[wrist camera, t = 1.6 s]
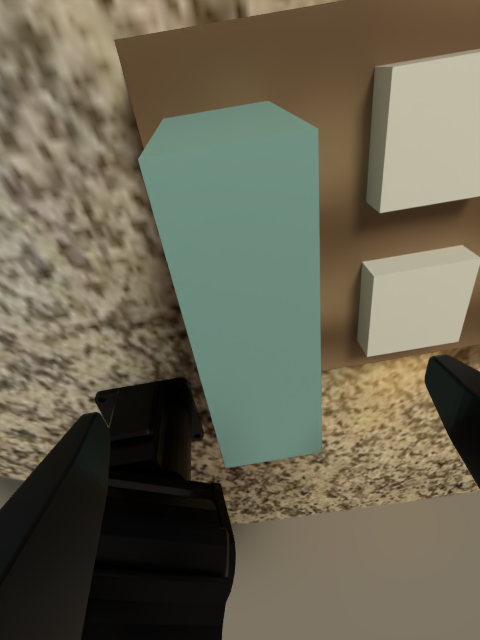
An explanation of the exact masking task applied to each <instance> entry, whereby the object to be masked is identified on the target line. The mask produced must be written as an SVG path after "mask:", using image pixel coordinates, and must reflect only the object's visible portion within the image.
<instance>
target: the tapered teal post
mask: <svg viewBox="0 0 480 640" xmlns="http://www.w3.org/2000/svg"><path fill="white" fill-rule="evenodd" d="M138 161H139V165H140V168H141V172H142V175H143V179H144V183H145V186H146V190H147V193H148V197H149V200H150V204H151V207H152V211H153V214H154V218H155V221H156V225H157V228H158V232H159V235H160V239H161V242H162V246H163V249H164V253H165V256H166V260H167V263H168V267H169V270H170V274H171V277H172V281H173V284H174V288H175V292H176V295H177V299H178V302H179V306H180V309H181V313H182V316H183V320H184V323H185V327H186V330H187V334H188V337H189V341H190V344H191V348H192V351H193V355H194V358H195V362H196V365H197V369H198V372H199V376H200V379H201V383H202V386H203V390H204V394H205V397H206V401H207V404H208V408H209V411H210V415H211V418H212V422H213V425H214V429H215V432H216V436H217V439H218V443H219V446H220V450H221V453H222V457H223V460H224V464H225V467H226V468H230V467H236V466H242V465H248V464H254V463H260V462H266V461H272V460H278V459H284V458H290V457H296V456H302V455H308V454H314V453H320V452H322V422H321V330H320V237H319V145H318V128H316V127H315V126H313V125H311V124H309V123H307V122H306V121H304V120H302V119H300V118H298V117H297V116H295V115H293V114H291V113H289V112H288V111H286V110H284V109H282V108H281V107H279V106H277V105H275V104H273V103H272V102H270V101H264V102H258V103H252V104H246V105H240V106H235V107H229V108H223V109H217V110H211V111H205V112H199V113H194V114H188V115H182V116H176V117H170V118H164V119H163V120H162V121H161V123H160V125H159V126H158V128H157V129H156V131H155V133H154V134H153V136H152V137H151V139H150V141H149V142H148V144H147V145H146V147H145V149H144V150H143V152H142V154H141V155H140V157H139V158H138Z"/></svg>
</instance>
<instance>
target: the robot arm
mask: <svg viewBox="0 0 480 640" xmlns="http://www.w3.org/2000/svg"><path fill="white" fill-rule="evenodd" d="M180 384H182V385H180ZM425 384H426V387H427V390H428V392H429V394H430V396H431V398H432V401H433V403H434V405H435V407H436V409H437V412H438V414H439V416H440V418H441V420H442V423H443V425H444V427H445V429H446V431H447V433H448V435H449V437H450V439H451V441H452V443H453V445H454V446H455V448H456V450H457V451H458V453H459V455H460V456H461V458H462V460H463V461H464V463H465V465H466V467H467V468H468V470H469V472H470V473H471V475H472V477H473V478H474V480H475V482H476V483H477V485H478V487H479V488H480V372H479V371H477V370H475V369H474V368H472V367H470V366H468V365H466V364H464V363H462V362H461V361H459V360H457V359H455V358H453V357H451V356H449V355H446V354H443V355H437V356H432V357H430V359H429V361H428V365H427V370H426V374H425ZM95 402H96V404H97V406H98V408H99V409H100V411H101V413H102V415H103V417H104V418H105V420H106V422H107V424H108V426H109V427H107V425H106V423H105V421H104V420H103V418H102V416H101V415H100V413H98V412H93V413H87V414H83V415H82V416H81V417H80V418H79V419H78V420H77V421H76V422H75V423H74V425H73V426H72V427H71V428H70V429H69V430H68V432H67V433H66V434H65V435H64V436H63V437H62V439H61V440H60V441H59V442H58V443H57V444H56V445H55V447H54V448H53V449H52V450H51V451H50V452H49V454H48V455H47V456H46V457H45V458H44V459H43V460H42V462H41V463H40V464H39V465H38V466H37V467H36V469H35V470H34V471H33V472H32V473H31V474H30V476H29V477H28V478H27V479H26V480H25V481H24V482H23V484H22V485H21V486H20V487H19V488H18V489H17V491H16V492H15V493H14V494H13V495H12V497H10V499H9V500H8V501H7V502H6V503H5V505H4V506H3V507H2V508H1V509H0V640H222V627H223V618H224V612H225V605H226V601H227V599H228V597H229V594H230V592H231V588H232V584H233V579H234V573H235V558H236V557H235V556H236V552H235V541H234V537H233V532H232V528H231V524H230V520H229V516H228V512H227V508H226V504H225V500H224V496H223V492H222V488H221V484H220V483H214V482H212V483H204V482H198V481H191V441H196V440H200V439H202V438H203V437H204V431H203V428H202V424H201V421H200V418H199V415H198V412H197V408H196V405H195V402H194V399H193V396H192V393H191V389H190V386H189V383H188V381H187V380H186V379H185V378H175V379H169V380H163V381H157V382H151V383H145V384H139V385H133V386H127V387H121V388H115V389H109V390H103V391H99V392H97V394H96V397H95Z"/></svg>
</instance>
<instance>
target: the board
mask: <svg viewBox="0 0 480 640" xmlns="http://www.w3.org/2000/svg"><path fill="white" fill-rule="evenodd" d="M114 41H115V45H116V48H117V52H118V56H119V59H120V63H121V67H122V70H123V74H124V78H125V81H126V85H127V89H128V92H129V96H130V100H131V104H132V107H133V111H134V115H135V118H136V122H137V126H138V129H139V133H140V137H141V140H142V144H143V148H144V149H145V147H146V145H147V144H148V142H149V141H150V139H151V137H152V136H153V134H154V133H155V131H156V129H157V128H158V126H159V125H160V123H161V121H162V120H163V119H164V118H170V117H176V116H182V115H188V114H194V113H199V112H205V111H211V110H217V109H223V108H229V107H235V106H240V105H246V104H252V103H258V102H264V101H270V102H272V103H273V104H275V105H277V106H279V107H281V108H282V109H284V110H286V111H288V112H289V113H291V114H293V115H295V116H297V117H298V118H300V119H302V120H304V121H306V122H307V123H309V124H311V125H313V126H315V127H316V128H318V145H319V237H320V330H321V371H323V370H329V369H335V368H341V367H347V366H353V365H359V364H365V363H371V362H377V361H383V360H389V359H395V358H401V357H407V356H413V355H419V354H425V353H431V352H437V351H443V350H449V349H455V348H461V347H467V346H473V345H479V344H480V266H479V269H478V273H477V277H476V280H475V284H474V287H473V291H472V295H471V298H470V302H469V305H468V309H467V313H466V316H465V320H464V323H463V327H462V331H461V334H460V338H459V341H458V342H454V343H448V344H442V345H436V346H430V347H424V348H418V349H412V350H406V351H400V352H394V353H388V354H382V355H376V356H370V357H367V356H366V354H365V353H364V351H363V349H362V347H361V346H360V344H359V342H358V340H357V334H358V319H359V303H360V288H361V273H362V262H365V261H371V260H377V259H383V258H389V257H394V256H400V255H406V254H412V253H418V252H424V251H430V250H436V249H442V248H448V247H454V246H460V245H463V246H464V247H466V248H467V249H469V250H470V251H472V252H473V253H474V254H476V255H477V256H479V257H480V196H478V197H472V198H466V199H461V200H455V201H449V202H443V203H437V204H431V205H425V206H419V207H413V208H407V209H401V210H396V211H390V212H384V213H379V212H378V211H377V210H375V209H374V208H373V207H372V206H371V205H369V204H368V203H367V202H366V196H367V181H368V165H369V150H370V135H371V119H372V104H373V89H374V73H375V66H381V65H387V64H393V63H399V62H404V61H410V60H416V59H422V58H428V57H434V56H440V55H445V54H451V53H457V52H463V51H469V50H475V49H480V0H343V1H338V2H332V3H326V4H320V5H314V6H309V7H303V8H297V9H291V10H285V11H280V12H274V13H268V14H262V15H256V16H251V17H245V18H239V19H233V20H227V21H221V22H216V23H210V24H204V25H198V26H192V27H187V28H181V29H175V30H169V31H163V32H158V33H152V34H146V35H140V36H134V37H128V38H123V39H117V40H114Z"/></svg>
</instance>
